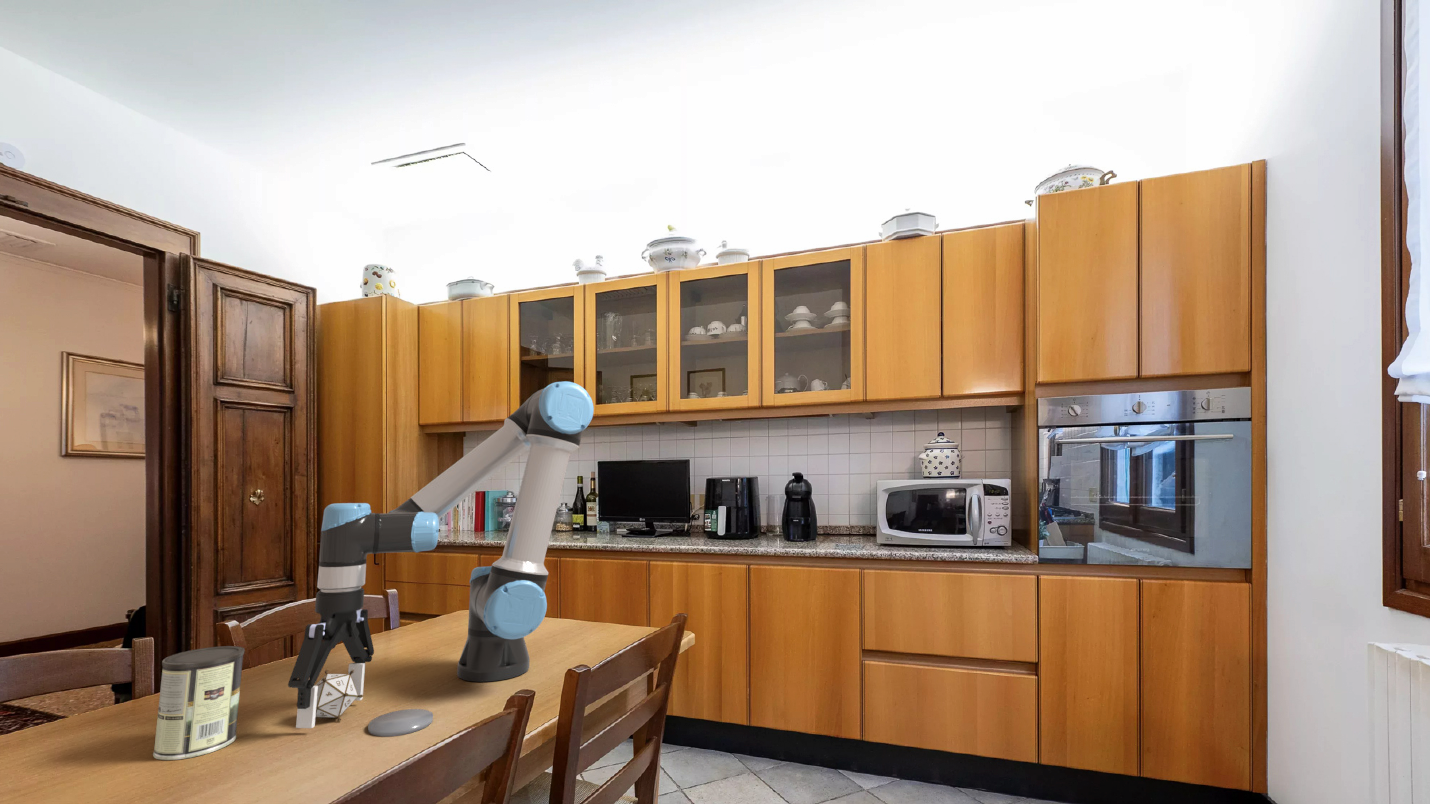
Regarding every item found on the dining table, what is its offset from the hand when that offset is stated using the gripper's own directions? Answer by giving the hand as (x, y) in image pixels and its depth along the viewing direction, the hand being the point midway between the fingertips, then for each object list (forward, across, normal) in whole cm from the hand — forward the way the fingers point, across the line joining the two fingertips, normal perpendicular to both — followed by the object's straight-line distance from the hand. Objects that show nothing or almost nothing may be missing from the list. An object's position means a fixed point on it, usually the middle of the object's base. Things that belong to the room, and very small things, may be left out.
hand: (331, 712), depth 108 cm
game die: (+1, 0, 0) cm, 1 cm away
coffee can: (+1, +12, -14) cm, 18 cm away
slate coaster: (+1, +2, +14) cm, 14 cm away
